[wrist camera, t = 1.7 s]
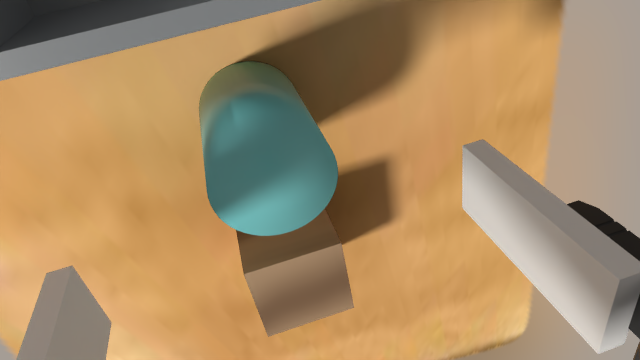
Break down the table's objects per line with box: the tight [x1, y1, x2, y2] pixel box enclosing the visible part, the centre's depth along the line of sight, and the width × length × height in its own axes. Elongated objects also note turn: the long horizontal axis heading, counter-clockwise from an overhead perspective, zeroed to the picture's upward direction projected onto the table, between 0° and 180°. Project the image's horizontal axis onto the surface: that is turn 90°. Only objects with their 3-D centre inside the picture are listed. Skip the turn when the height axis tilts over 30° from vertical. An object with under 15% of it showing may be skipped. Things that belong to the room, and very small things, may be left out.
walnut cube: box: [236, 209, 354, 337], centre depth 26 cm, size 5×5×5 cm
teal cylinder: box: [199, 61, 338, 236], centre depth 20 cm, size 5×5×7 cm
